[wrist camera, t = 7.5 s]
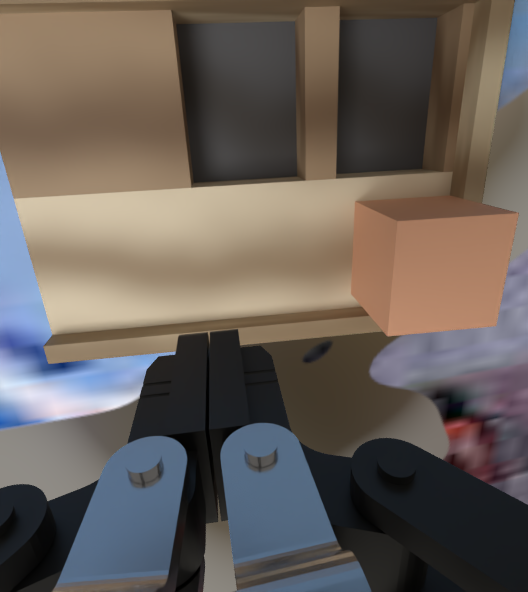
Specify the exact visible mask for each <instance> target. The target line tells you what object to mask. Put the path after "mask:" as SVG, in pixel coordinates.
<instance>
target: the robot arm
mask: <svg viewBox="0 0 528 592" xmlns="http://www.w3.org/2000/svg"><path fill="white" fill-rule="evenodd" d="M218 499H219V507H220V514H221V521H225V520H228V522H229V530H230V538H231V546H232V554H233V562H234V570H235V578H236V585H237V592H528V505H527V504H525V503H523V502H521V501H519V500H518V499H516V498H514V497H512V496H510V495H508V494H506V493H504V492H502V491H500V490H499V489H497V488H495V487H493V486H491V485H489V484H487V483H485V482H483V481H482V480H480V479H478V478H476V477H474V476H472V475H470V474H468V473H466V472H465V471H463V470H461V469H459V468H457V467H455V466H453V465H451V464H449V463H447V462H446V461H444V460H442V459H440V458H438V457H436V456H434V455H432V454H430V453H429V452H427V451H424V450H423V449H421V448H419V447H417V446H415V445H413V444H411V443H408V442H405V441H402V440H398V439H391V438H379V439H374V440H371V441H368V442H366V443H364V444H362V445H361V446H360V447H359V448H358V449H357V450H356V451H355V453H354V455H353V457H352V458H350V457H342V456H334V455H328V454H324V453H320V452H317V451H314V450H312V449H310V448H308V447H307V446H305V445H303V444H302V443H301V442H300V441H299V440H298V439H297V438H296V436H295V435H294V434H293V433H292V431H291V429H290V426H289V422H288V418H287V414H286V410H285V406H284V402H283V399H282V395H281V391H280V387H279V384H278V379H277V375H276V372H275V367H274V364H273V360H272V356H271V355H270V354H269V353H268V352H267V351H265V349H263V348H262V347H261V346H253V347H243V348H240V340H239V332H238V329H231V330H221V331H211V332H210V343H209V336H208V332H202V333H193V334H183V335H179V336H178V341H177V348H176V354H175V355H169V356H159V357H158V358H157V359H156V360H155V361H154V362H153V363H152V364H151V366H150V367H149V368H148V369H147V371H146V375H145V379H144V382H143V387H142V390H141V394H140V399H139V402H138V406H137V410H136V413H135V417H134V421H133V424H132V428H131V432H130V436H129V440H128V444H127V445H125V446H124V447H122V448H121V449H119V450H118V451H117V452H116V453H115V454H114V455H113V456H112V457H111V458H110V459H109V460H108V462H107V463H106V465H105V467H104V469H103V471H102V474H101V476H100V479H99V480H97V481H95V482H94V483H92V484H90V485H88V486H86V487H83V488H81V489H79V490H76V491H73V492H71V493H68V494H66V495H63V496H61V497H58V498H55V499H53V500H50V501H47V499H46V496H45V495H44V493H43V492H42V491H41V490H40V489H39V488H37V487H35V486H32V485H26V484H19V485H11V486H7V487H4V488H1V489H0V592H203V585H204V573H205V559H204V553H205V542H206V539H205V538H206V523H213V522H218Z"/></svg>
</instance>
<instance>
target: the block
mask: <svg viewBox="0 0 528 592" xmlns="http://www.w3.org/2000/svg"><path fill="white" fill-rule="evenodd" d="M518 215H519V213H517V212H513V211H509V210H505V209H501V208H497V207H493V206H489V205H485V204H482V203H478V202H474V201H470V200H466V199H462V198H458V197H454V196H450V195H449V196H433V197H417V198H401V199H385V200H369V201H355V212H354V235H353V257H352V279H351V294H352V296H353V297H354V298H355V299H356V300H357V301H358V303H359V304H360V305H361V306H362V307H363V308H364V310H365V311H366V312H367V313H368V314H369V315H370V317H371V318H372V319H373V320H374V321H375V322H376V324H377V325H378V326H379V327H380V328H381V329H382V331H383V332H384V333H385V334H386V335H387V336H395V335H407V334H417V333H428V332H438V331H449V330H459V329H470V328H480V327H491V326H496V324H497V319H498V314H499V309H500V304H501V299H502V294H503V289H504V284H505V279H506V274H507V270H508V265H509V260H510V255H511V250H512V245H513V240H514V235H515V230H516V225H517V220H518Z"/></svg>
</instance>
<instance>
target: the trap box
mask: <svg viewBox="0 0 528 592" xmlns="http://www.w3.org/2000/svg"><path fill="white" fill-rule="evenodd" d="M514 2H515V0H0V152H1V155H2V159H3V162H4V166H5V169H6V173H7V176H8V180H9V183H10V187H11V190H12V194H13V197H14V201H15V204H16V208H17V212H18V215H19V219H20V222H21V226H22V229H23V233H24V236H25V240H26V243H27V247H28V250H29V254H30V257H31V261H32V264H33V268H34V271H35V275H36V279H37V282H38V286H39V289H40V293H41V296H42V300H43V303H44V307H45V310H46V314H47V317H48V321H49V324H50V328H51V331H52V336H51V338H50V339H49V340H48V341H47V343H46V344H45V345H44V346H43V347H44V350H45V354H46V357H47V360H48V364H51V363H61V362H72V361H82V360H92V359H103V358H113V357H123V356H133V355H144V354H154V353H164V352H174V351H176V348H177V341H178V336H179V335H183V334H193V333H202V332H208V336H209V343H210V332H211V331H221V330H231V329H238V332H239V340H240V345H246V344H256V343H267V342H277V341H287V340H298V339H307V338H318V337H328V336H339V335H348V334H359V333H368V332H380V331H382V329H381V328H380V327H379V326H378V325H377V324H376V322H375V321H374V320H373V319H372V318H371V317H370V315H369V314H368V313H367V312H366V311H365V310H364V308H363V307H362V306H361V305H360V304H359V303H358V301H357V300H356V299H355V298H354V297H353V296H352V294H351V279H352V257H353V235H354V212H355V201H369V200H385V199H401V198H417V197H433V196H449V195H450V196H454V197H458V198H462V199H466V200H470V201H474V202H478V203H482V199H483V193H484V187H485V181H486V175H487V169H488V162H489V156H490V150H491V144H492V138H493V132H494V125H495V119H496V113H497V107H498V101H499V95H500V88H501V82H502V76H503V70H504V64H505V58H506V51H507V45H508V39H509V33H510V27H511V21H512V14H513V8H514Z"/></svg>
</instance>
